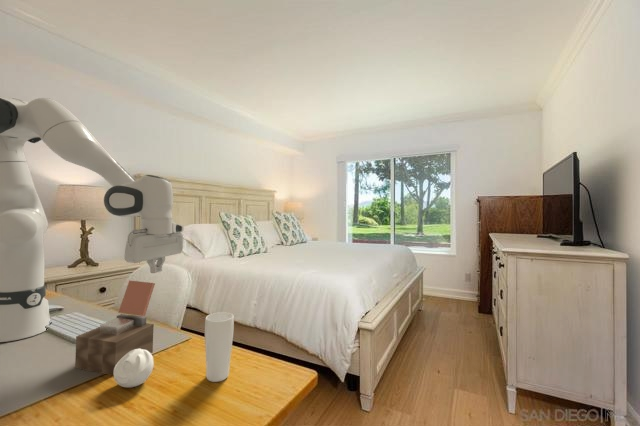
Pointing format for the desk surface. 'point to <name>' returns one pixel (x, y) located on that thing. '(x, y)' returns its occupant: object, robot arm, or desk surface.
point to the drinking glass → (218, 345)
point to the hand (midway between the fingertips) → (156, 272)
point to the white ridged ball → (133, 368)
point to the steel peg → (116, 326)
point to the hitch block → (112, 345)
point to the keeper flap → (136, 298)
